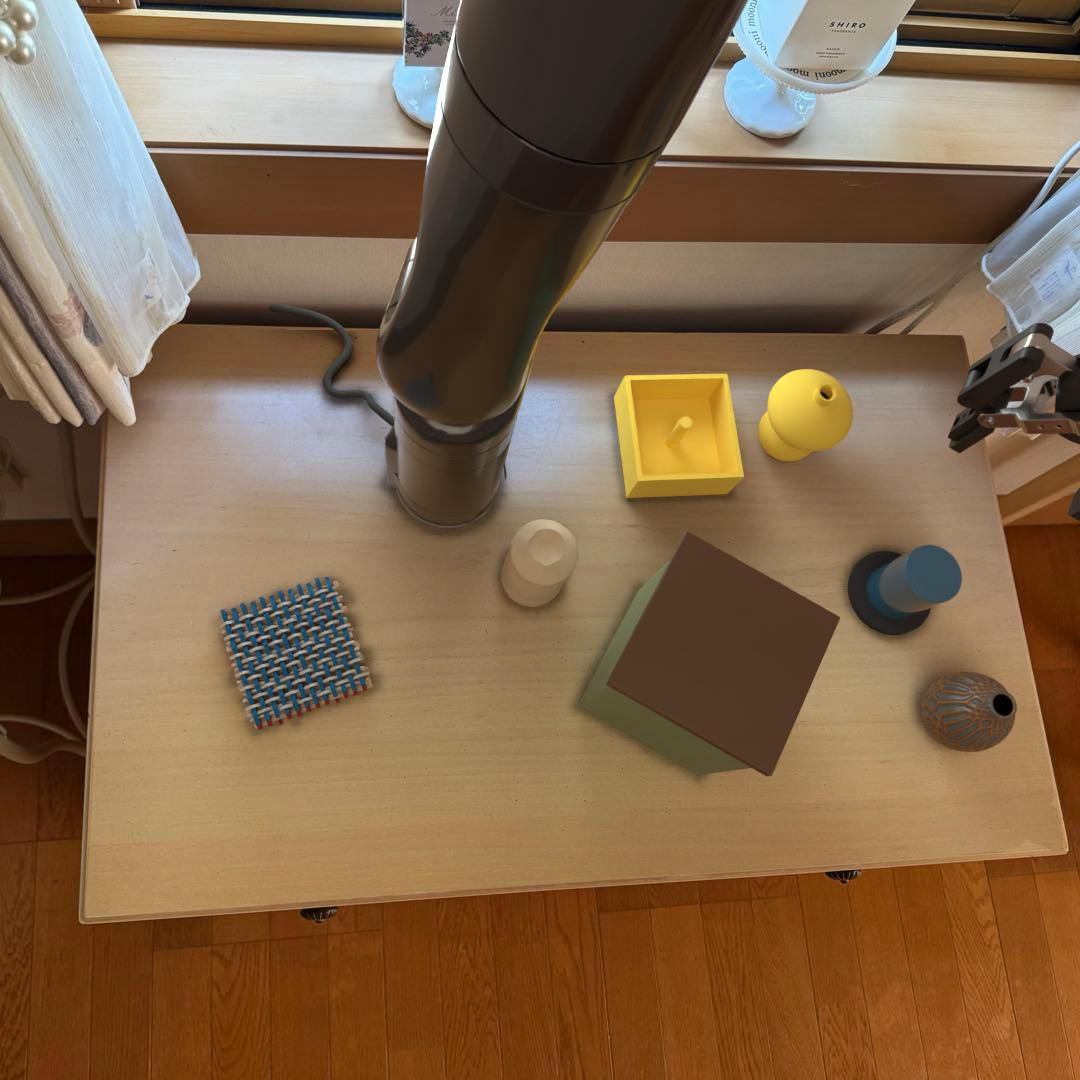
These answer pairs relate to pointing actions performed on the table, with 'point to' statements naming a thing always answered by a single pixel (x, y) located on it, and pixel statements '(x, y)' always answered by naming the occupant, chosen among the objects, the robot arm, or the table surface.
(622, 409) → the bath set
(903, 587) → the blue cylinder
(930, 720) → the vase
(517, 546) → the candle
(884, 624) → the coaster
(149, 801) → the table surface
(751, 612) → the stand
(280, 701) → the woven mat
